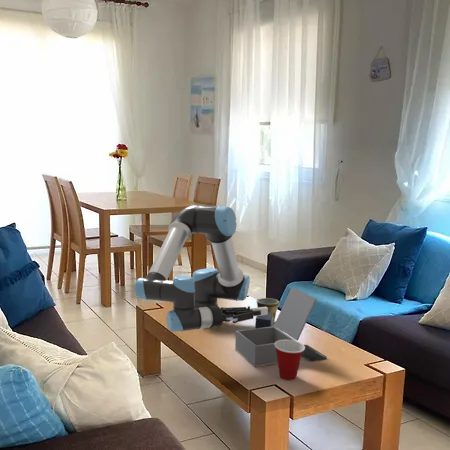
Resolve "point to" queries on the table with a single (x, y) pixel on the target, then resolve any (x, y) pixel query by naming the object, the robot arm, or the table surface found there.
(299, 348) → the plastic cup
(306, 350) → the phone
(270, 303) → the ceramic cup
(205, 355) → the table surface
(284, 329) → the lid
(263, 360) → the grey open rectangular box
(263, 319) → the small box
